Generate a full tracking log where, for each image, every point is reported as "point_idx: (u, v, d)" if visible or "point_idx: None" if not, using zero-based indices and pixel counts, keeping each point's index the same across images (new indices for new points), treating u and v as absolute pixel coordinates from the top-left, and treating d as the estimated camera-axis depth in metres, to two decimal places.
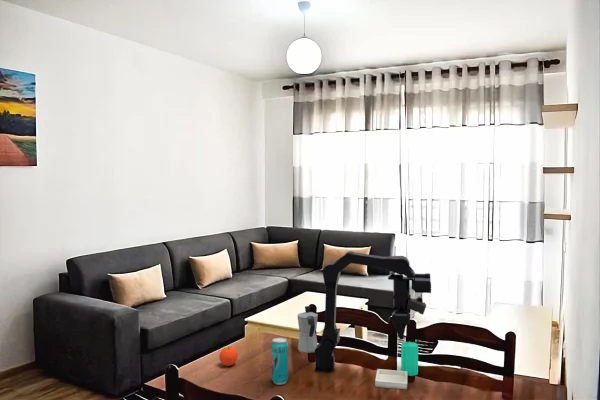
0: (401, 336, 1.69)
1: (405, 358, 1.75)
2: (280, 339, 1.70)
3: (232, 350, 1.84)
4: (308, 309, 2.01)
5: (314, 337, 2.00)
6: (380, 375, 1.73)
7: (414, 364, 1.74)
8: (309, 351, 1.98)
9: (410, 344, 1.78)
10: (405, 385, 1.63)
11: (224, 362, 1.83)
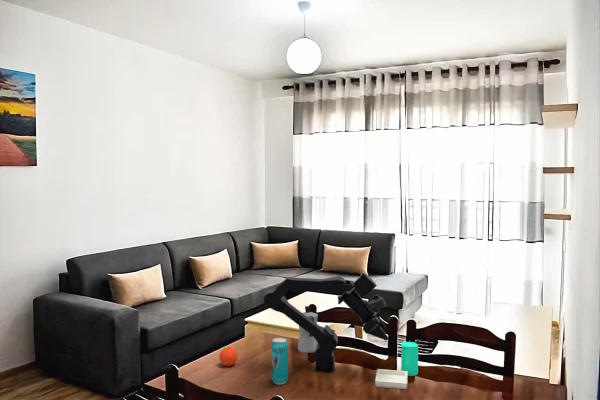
0: (385, 337, 1.73)
1: (405, 358, 1.75)
2: (280, 339, 1.70)
3: (232, 350, 1.84)
4: (308, 309, 2.01)
5: None
6: (380, 375, 1.73)
7: (414, 364, 1.74)
8: (309, 351, 1.98)
9: (410, 344, 1.78)
10: (405, 385, 1.63)
11: (224, 362, 1.83)
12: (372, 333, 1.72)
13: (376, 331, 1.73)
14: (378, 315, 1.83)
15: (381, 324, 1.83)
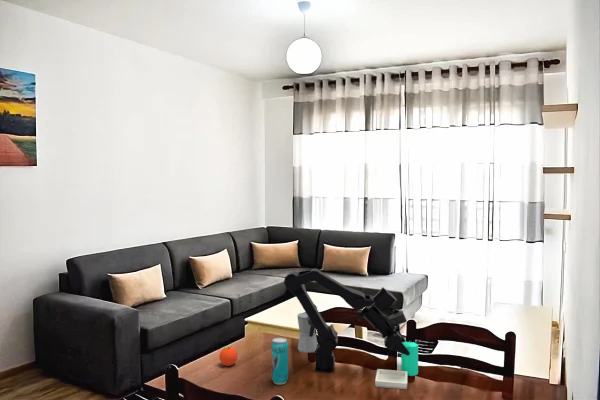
0: (407, 352, 1.72)
1: (405, 358, 1.75)
2: (280, 339, 1.70)
3: (232, 350, 1.84)
4: None
5: (314, 337, 2.00)
6: (380, 375, 1.73)
7: (414, 364, 1.74)
8: (309, 351, 1.98)
9: (410, 344, 1.78)
10: (405, 385, 1.63)
11: (224, 362, 1.83)
12: (394, 348, 1.71)
13: (397, 346, 1.72)
14: (398, 329, 1.82)
15: (401, 338, 1.82)
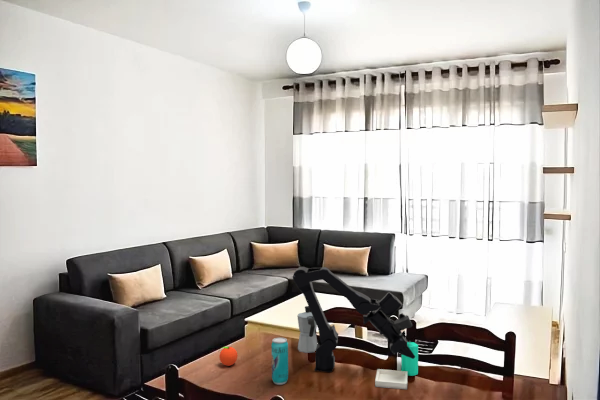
0: (412, 355, 1.74)
1: (405, 358, 1.75)
2: (280, 339, 1.70)
3: (232, 350, 1.84)
4: (308, 309, 2.01)
5: (314, 337, 2.00)
6: (380, 375, 1.73)
7: (414, 364, 1.74)
8: (309, 351, 1.98)
9: (410, 344, 1.78)
10: (405, 385, 1.63)
11: (224, 362, 1.83)
12: (399, 351, 1.73)
13: (403, 349, 1.73)
14: (404, 335, 1.80)
15: None
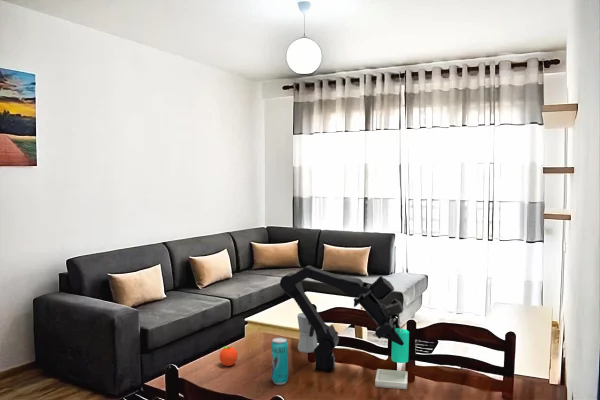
0: (400, 342, 1.69)
1: (394, 344, 1.70)
2: (280, 339, 1.70)
3: (232, 350, 1.84)
4: None
5: (314, 337, 2.00)
6: (380, 375, 1.73)
7: (403, 352, 1.69)
8: (309, 351, 1.98)
9: (401, 331, 1.72)
10: (405, 385, 1.63)
11: (224, 362, 1.83)
12: (386, 337, 1.69)
13: (391, 335, 1.69)
14: (396, 322, 1.75)
15: None
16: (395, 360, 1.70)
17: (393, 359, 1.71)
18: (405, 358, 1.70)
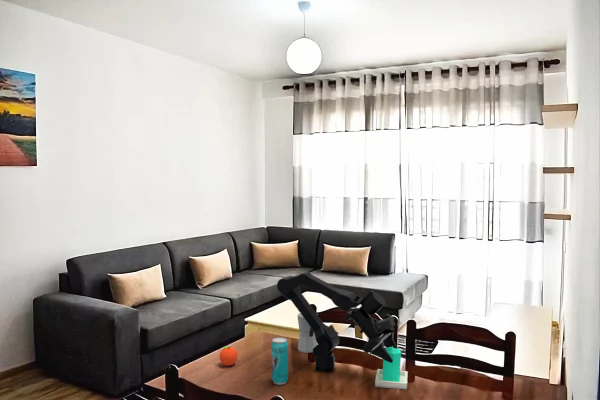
0: (389, 359, 1.65)
1: (385, 364, 1.68)
2: (280, 339, 1.70)
3: (232, 350, 1.84)
4: None
5: (314, 337, 2.00)
6: (380, 375, 1.73)
7: (393, 372, 1.66)
8: (309, 351, 1.98)
9: (393, 351, 1.69)
10: (405, 385, 1.63)
11: (224, 362, 1.83)
12: (375, 353, 1.66)
13: (379, 352, 1.66)
14: (390, 336, 1.73)
15: (393, 346, 1.73)
16: (385, 380, 1.68)
17: (383, 378, 1.68)
18: (395, 378, 1.67)
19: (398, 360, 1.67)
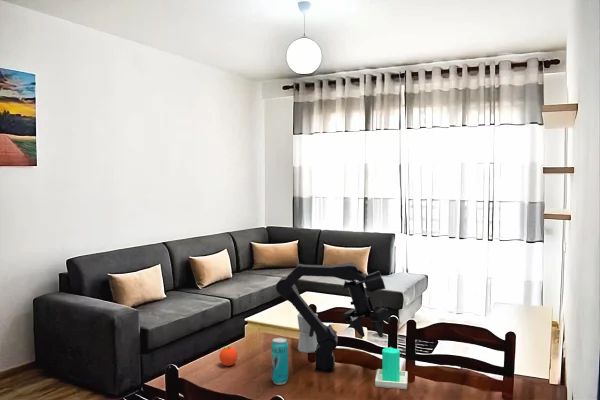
0: (381, 334, 1.75)
1: (384, 364, 1.68)
2: (280, 339, 1.70)
3: (232, 350, 1.84)
4: None
5: (314, 337, 2.00)
6: (380, 375, 1.73)
7: (393, 372, 1.66)
8: (309, 351, 1.98)
9: (392, 351, 1.70)
10: (405, 385, 1.63)
11: (224, 362, 1.83)
12: (377, 324, 1.72)
13: (378, 324, 1.74)
14: (360, 318, 1.84)
15: (361, 328, 1.82)
16: (385, 380, 1.68)
17: (383, 379, 1.68)
18: (395, 378, 1.67)
19: (397, 360, 1.67)
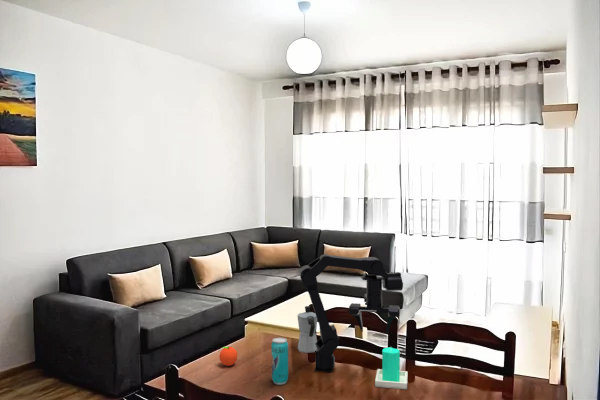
0: None
1: (384, 364, 1.68)
2: (280, 339, 1.70)
3: (232, 350, 1.84)
4: (308, 309, 2.01)
5: (314, 337, 2.00)
6: (380, 375, 1.73)
7: (393, 372, 1.66)
8: (309, 351, 1.98)
9: (392, 351, 1.70)
10: (405, 385, 1.63)
11: (224, 362, 1.83)
12: None
13: None
14: (361, 313, 1.85)
15: None
16: (385, 380, 1.68)
17: (383, 379, 1.68)
18: (395, 378, 1.67)
19: (397, 360, 1.67)
